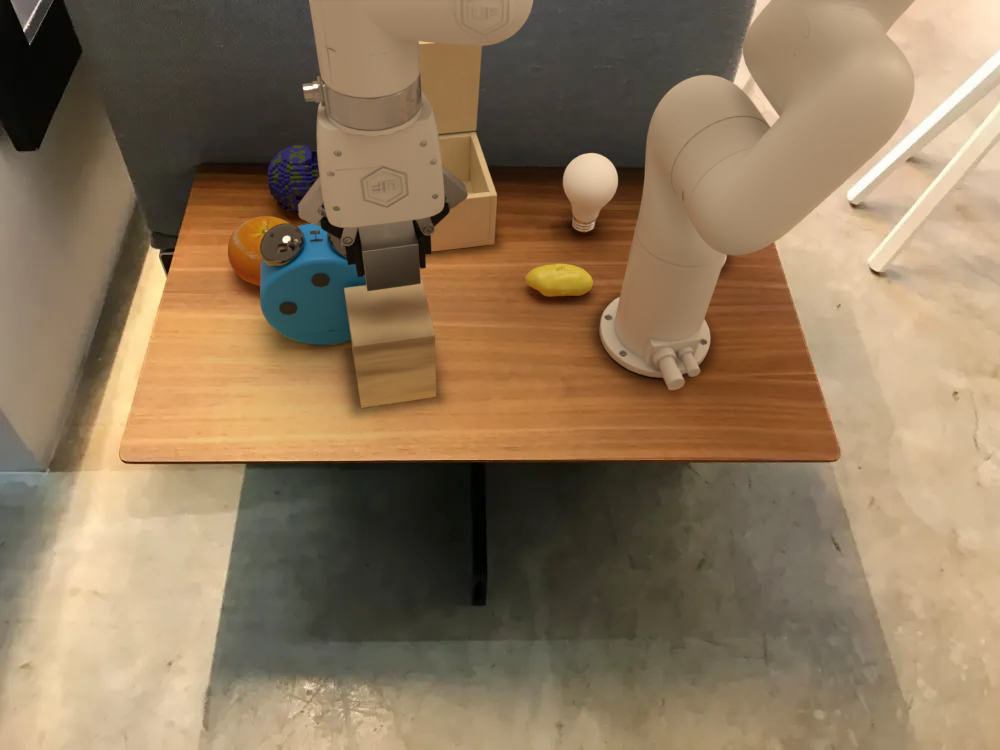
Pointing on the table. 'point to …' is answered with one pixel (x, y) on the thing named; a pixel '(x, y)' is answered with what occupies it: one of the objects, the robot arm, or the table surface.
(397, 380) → the block
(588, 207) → the light bulb
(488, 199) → the open storage bin
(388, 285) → the steel block
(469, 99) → the wooden box lid
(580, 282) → the yellow potato
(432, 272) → the table surface
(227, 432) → the table surface
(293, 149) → the ball
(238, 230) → the fruit
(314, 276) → the alarm clock
